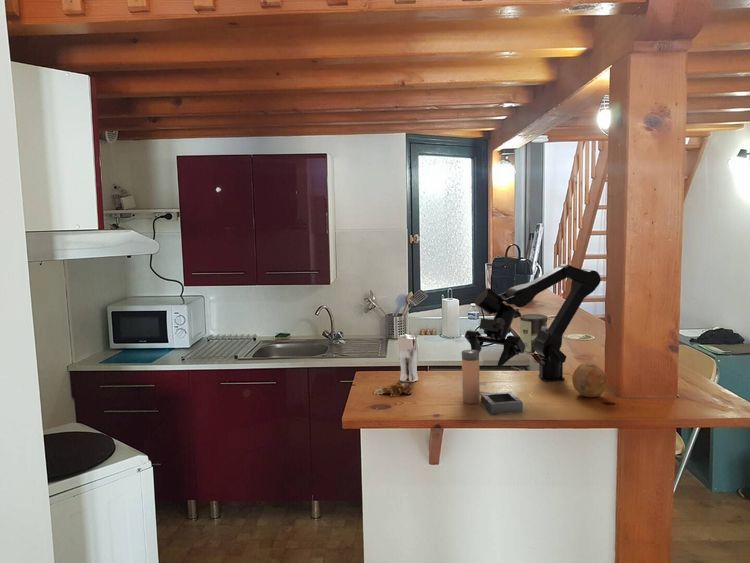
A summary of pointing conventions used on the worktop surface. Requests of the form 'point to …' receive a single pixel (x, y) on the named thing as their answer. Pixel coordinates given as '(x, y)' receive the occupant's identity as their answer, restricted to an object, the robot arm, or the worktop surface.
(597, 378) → the mottled tan ball
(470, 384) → the cylindrical peg
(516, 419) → the worktop surface
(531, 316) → the coffee can
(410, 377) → the beer glass
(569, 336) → the worktop surface
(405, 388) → the mottled brown lump
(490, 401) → the collar
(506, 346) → the robot arm
